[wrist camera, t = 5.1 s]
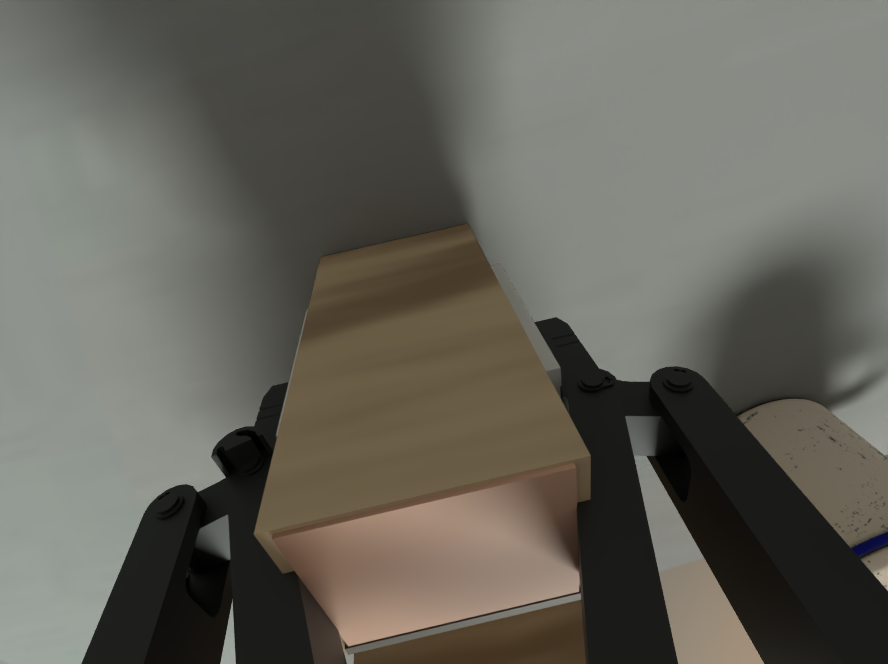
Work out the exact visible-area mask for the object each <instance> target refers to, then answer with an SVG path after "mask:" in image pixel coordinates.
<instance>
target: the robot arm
mask: <svg viewBox="0 0 888 664" xmlns="http://www.w3.org/2000/svg"><path fill="white" fill-rule="evenodd" d="M491 268H492V270H493V272H494V274H495V276H496V278H497V279H498V281H499V283H500V285H501V287H502V289H503V291H504V293H505V295H506V296H507V298H508V300H509V302H510V304H511V306H512V308H513V310H514V312H515V314H516V315H517V317H518V319H519V321H520V323H521V325H522V327H523V329H524V331H525V332H526V334H527V336H528V338H529V340H530V342H531V344H532V346H533V348H534V349H535V351H536V353H537V355H538V357H539V359H540V361H541V363H542V365H543V366H544V368H545V370H546V372H547V374H548V376H549V378H550V380H551V382H552V383H553V385H554V387H555V389H556V391H557V393H558V395H559V397H560V399H561V400H562V402H563V404H564V406H565V408H566V410H567V412H568V414H569V416H570V417H571V419H572V421H573V423H574V425H575V427H576V429H577V431H578V433H579V434H580V436H581V438H582V440H583V442H584V444H585V446H586V448H587V450H588V451H589V453H590V455H591V499H590V500H586V501H582V502H577V531H578V559H579V577H580V590H581V604H582V618H583V631H584V645H585V659H586V664H678V661H677V656H676V652H675V647H674V643H673V638H672V633H671V628H670V624H669V619H668V614H667V609H666V605H665V600H664V596H663V591H662V586H661V582H660V577H659V572H658V567H657V563H656V558H655V553H654V549H653V544H652V539H651V534H650V530H649V525H648V520H647V516H646V511H645V506H644V502H643V497H642V492H641V488H640V483H639V478H638V473H637V469H636V464H635V459H634V455H642V456H647V458H648V459H649V461H650V463H651V465H652V466H653V468H654V470H655V472H656V473H657V475H658V477H659V479H660V481H661V482H662V484H663V486H664V488H665V489H666V491H667V493H668V495H669V496H670V498H671V500H672V502H673V503H674V505H675V507H676V509H677V510H678V512H679V514H680V516H681V518H682V519H683V521H684V523H685V525H686V526H687V528H688V530H689V532H690V533H691V535H692V537H693V539H694V540H695V542H696V544H697V546H698V548H699V549H700V551H701V553H702V555H703V556H704V558H705V560H706V562H707V563H708V565H709V567H710V568H711V570H712V572H713V574H714V576H715V577H716V579H717V581H718V583H719V585H720V586H721V588H722V590H723V592H724V593H725V595H726V597H727V599H728V600H729V602H730V604H731V606H732V607H733V609H734V611H735V612H736V614H737V616H738V618H739V620H740V621H741V623H742V625H743V627H744V629H745V630H746V632H747V634H748V636H749V637H750V639H751V641H752V643H753V644H754V646H755V648H756V650H757V651H758V653H759V655H760V657H761V659H762V660H763V662H764V664H888V591H887V589H886V588H885V587H884V586H883V585H882V584H881V583H880V581H879V580H878V579H877V578H876V577H875V576H874V574H873V573H872V572H871V571H870V570H869V569H868V567H867V566H866V565H865V564H864V563H863V562H862V561H861V559H860V558H859V557H858V556H857V555H856V554H855V552H854V551H853V550H852V549H851V548H850V547H849V545H848V544H847V543H846V542H845V541H844V540H843V539H842V537H841V536H840V535H839V534H838V533H837V532H836V530H835V529H834V528H833V527H832V526H831V525H830V523H829V522H828V521H827V520H826V519H825V518H824V517H823V515H822V514H821V513H820V512H819V511H818V510H817V508H816V507H815V506H814V505H813V504H812V503H811V501H810V500H809V499H808V498H807V497H806V496H805V495H804V493H803V492H802V491H801V490H800V489H799V488H798V486H797V485H796V484H795V483H794V482H793V481H792V479H791V478H790V477H789V476H788V475H787V474H786V473H785V471H784V470H783V469H782V468H781V467H780V466H779V464H778V463H777V462H776V461H775V460H774V459H773V457H772V456H771V455H770V454H769V453H768V452H767V451H766V449H765V448H764V447H763V446H762V445H761V444H760V442H759V441H758V440H757V439H756V438H755V437H754V435H753V434H752V433H751V432H750V431H749V430H748V429H747V427H746V426H745V425H744V424H743V423H742V422H741V420H740V419H739V418H738V417H737V416H736V415H735V413H734V412H733V411H732V410H731V409H730V408H729V407H728V405H727V404H726V403H725V402H724V401H723V400H722V398H721V397H720V396H719V395H718V394H717V393H716V391H715V390H714V389H713V388H712V387H711V386H710V385H709V383H708V382H707V381H706V380H705V379H704V378H703V377H702V376H701V375H699V374H698V373H697V372H695V371H692V370H690V369H687V368H682V367H665V368H662V369H659V370H657V371H656V372H655V373H653V374H652V376H651V379H650V382H627V381H620V380H616V378H615V376H613V375H612V374H611V373H609V372H608V371H605V370H602V369H599V368H598V366H597V365H596V364H595V362H594V361H593V359H592V358H591V356H590V355H589V354H588V352H587V351H586V349H585V348H584V346H583V345H582V344H581V342H580V341H579V339H578V338H577V336H576V335H575V334H574V332H573V331H572V329H571V328H570V326H569V325H568V324H567V323H565V322H564V321H562V320H560V319H558V318H557V317H555V318H551V319H547V320H543V321H538V322H534V321H533V319H532V318H531V316H530V314H529V313H528V311H527V309H526V307H525V306H524V304H523V302H522V301H521V299H520V297H519V295H518V294H517V292H516V290H515V288H514V287H513V285H512V283H511V282H510V280H509V278H508V276H507V275H506V273H505V271H504V270H503V268H502V266H501V264H497V265H493V266H491ZM307 312H308V309H307V310H306V314H305V318H304V322H303V326H302V330H301V334H300V338H299V342H298V347H297V351H296V355H295V359H294V363H293V367H292V371H291V375H290V379H289V382H287V383H283V384H279V385H275V386H272V387H271V388H270V390H269V391H268V392H267V393H266V395H265V396H264V397H263V400H262V403H261V406H260V411H259V413H258V416H257V421H256V423H255V426H251V427H243V428H240V429H236V430H234V431H233V432H231V433H229V434H227V435H226V436H225V437H224V438H222V439H221V440H220V441H219V442H218V443H217V445H216V446H215V448H214V449H213V452H212V456H211V457H212V459H213V460H214V461H215V463H216V464H217V465H218V467H219V468H220V470H221V471H222V472H223V474H224V475H225V476H226V478H225V479H223V480H221V481H220V482H218V483H216V484H214V485H212V486H210V487H208V488H206V489H204V490H202V491H199V492H197V491H196V490H195V488H194V487H193V486H190V485H187V484H185V485H178V486H175V487H173V488H170V489H168V490H166V491H165V492H163V493H162V494H161V495H159V496H158V497H157V498H156V499H155V500H154V501H153V502H152V503H151V504H150V505H149V506H148V508H147V510H146V511H145V513H144V515H143V517H142V520H141V522H140V524H139V527H138V529H137V532H136V534H135V536H134V539H133V541H132V544H131V546H130V549H129V551H128V553H127V556H126V558H125V561H124V563H123V565H122V568H121V570H120V573H119V575H118V577H117V580H116V582H115V585H114V587H113V589H112V592H111V594H110V597H109V599H108V601H107V604H106V606H105V609H104V611H103V613H102V616H101V618H100V621H99V623H98V625H97V628H96V630H95V633H94V635H93V637H92V640H91V642H90V645H89V647H88V649H87V652H86V654H85V657H84V659H83V662H82V664H220V662H221V656H222V651H223V646H224V641H225V635H226V630H227V625H228V619H229V614H230V609H231V604H232V598H233V616H234V634H235V653H236V664H347V663H346V659H345V655H344V651H343V647H342V643H341V639H340V634H339V631H338V630H337V628H336V627H335V625H334V624H333V623H332V621H331V620H330V619H329V617H328V616H327V614H326V613H325V612H324V610H323V609H322V608H321V606H320V605H319V604H318V602H317V601H316V599H315V598H314V597H313V595H312V594H311V593H310V591H309V590H308V589H307V587H306V586H305V584H304V583H303V582H302V580H301V579H300V578H299V576H298V575H297V574H296V572H295V571H292V572H288V573H284V574H283V573H282V572H281V571H280V569H279V568H278V566H277V565H276V564H275V562H274V561H273V560H272V558H271V557H270V556H269V554H268V553H267V552H266V550H265V549H264V548H263V546H262V545H261V544H260V542H259V541H258V540H257V538H256V537H255V536H254V531H255V527H256V523H257V518H258V514H259V510H260V506H261V502H262V498H263V494H264V489H265V485H266V481H267V477H268V473H269V469H270V465H271V460H272V456H273V452H274V448H275V444H276V440H277V436H278V432H279V427H280V423H281V419H282V415H283V411H284V407H285V403H286V398H287V394H288V390H289V386H290V382H291V378H292V374H293V369H294V365H295V361H296V357H297V353H298V349H299V345H300V340H301V336H302V332H303V328H304V324H305V320H306V316H307Z"/></svg>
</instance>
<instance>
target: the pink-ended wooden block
mask: <svg viewBox="0 0 888 664" xmlns="http://www.w3.org/2000/svg"><path fill="white" fill-rule="evenodd" d="M590 499H591V455H590V453H589V451H588V450H587V448H586V446H585V444H584V442H583V440H582V438H581V436H580V434H579V433H578V431H577V429H576V427H575V425H574V423H573V421H572V419H571V417H570V416H569V414H568V412H567V410H566V408H565V406H564V404H563V402H562V400H561V399H560V397H559V395H558V393H557V391H556V389H555V387H554V385H553V383H552V382H551V380H550V378H549V376H548V374H547V372H546V370H545V368H544V366H543V365H542V363H541V361H540V359H539V357H538V355H537V353H536V351H535V349H534V348H533V346H532V344H531V342H530V340H529V338H528V336H527V334H526V332H525V331H524V329H523V327H522V325H521V323H520V321H519V319H518V317H517V315H516V314H515V312H514V310H513V308H512V306H511V304H510V302H509V300H508V298H507V296H506V295H505V293H504V291H503V289H502V287H501V285H500V283H499V281H498V279H497V278H496V276H495V274H494V272H493V270H492V268H491V266H490V264H489V262H488V261H487V259H486V257H485V255H484V253H483V251H482V249H481V247H480V245H479V244H478V242H477V240H476V238H475V236H474V234H473V232H472V230H471V228H470V227H469V225H468V224H464V225H460V226H455V227H451V228H447V229H442V230H438V231H433V232H429V233H425V234H420V235H416V236H411V237H407V238H403V239H398V240H394V241H389V242H385V243H381V244H376V245H372V246H367V247H363V248H359V249H354V250H350V251H345V252H341V253H337V254H332V255H328V256H323V257H321V258H320V262H319V266H318V270H317V274H316V278H315V283H314V287H313V291H312V295H311V299H310V303H309V307H308V312H307V316H306V320H305V324H304V328H303V332H302V336H301V340H300V345H299V349H298V353H297V357H296V361H295V365H294V369H293V374H292V378H291V382H290V386H289V390H288V394H287V398H286V403H285V407H284V411H283V415H282V419H281V423H280V427H279V432H278V436H277V440H276V444H275V448H274V452H273V456H272V460H271V465H270V469H269V473H268V477H267V481H266V485H265V489H264V494H263V498H262V502H261V506H260V510H259V514H258V518H257V523H256V527H255V531H254V536H255V537H256V538H257V540H258V541H259V542H260V544H261V545H262V546H263V548H264V549H265V550H266V552H267V553H268V554H269V556H270V557H271V558H272V560H273V561H274V562H275V564H276V565H277V566H278V568H279V569H280V571H281V572H282V573H283V574H284V573H288V572H292V571H295V572H296V574H297V575H298V576H299V578H300V579H301V580H302V582H303V583H304V584H305V586H306V587H307V589H308V590H309V591H310V593H311V594H312V595H313V597H314V598H315V599H316V601H317V602H318V604H319V605H320V606H321V608H322V609H323V610H324V612H325V613H326V614H327V616H328V617H329V619H330V620H331V621H332V623H333V624H334V625H335V627H336V628H337V630H338V631H339V634H340V639H341V643H342V647H343V651H344V653H348V655H349V654H354V653H358V652H362V651H366V650H371V649H375V648H379V647H383V646H387V645H392V644H396V643H400V642H404V641H408V640H413V639H417V638H421V637H425V636H429V635H434V634H438V633H442V632H446V631H450V630H455V629H459V628H463V627H467V626H472V625H476V624H480V623H484V622H488V621H493V620H497V619H501V618H505V617H509V616H514V615H518V614H522V613H526V612H530V611H535V610H539V609H543V608H547V607H552V606H556V605H560V604H564V603H568V602H573V601H577V600H581V590H580V577H579V559H578V531H577V502H582V501H586V500H590Z"/></svg>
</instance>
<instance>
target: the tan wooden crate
mask: <svg viewBox="0 0 888 664" xmlns="http://www.w3.org/2000/svg"><path fill="white" fill-rule="evenodd" d="M354 664H586V659H585V645H584V631H583V618H582V604H581V600H577V601H573V602H568V603H564V604H560V605H556V606H552V607H547V608H543V609H539V610H535V611H530V612H526V613H522V614H518V615H514V616H509V617H505V618H501V619H497V620H493V621H488V622H484V623H480V624H476V625H472V626H467V627H463V628H459V629H455V630H450V631H446V632H442V633H438V634H434V635H429V636H425V637H421V638H417V639H413V640H408V641H404V642H400V643H396V644H392V645H387V646H383V647H379V648H375V649H371V650H366V651H362V652H358V653H354Z"/></svg>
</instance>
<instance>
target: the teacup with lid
mask: <svg viewBox="0 0 888 664" xmlns="http://www.w3.org/2000/svg"><path fill="white" fill-rule="evenodd" d="M737 417H738V418H739V419H740V420H741V422H742V423H743V424H744V425H745V426H746V427H747V429H748V430H749V431H750V432H751V433H752V434H753V435H754V437H755V438H756V439H757V440H758V441H759V442H760V444H761V445H762V446H763V447H764V448H765V449H766V451H767V452H768V453H769V454H770V455H771V456H772V457H773V459H774V460H775V461H776V462H777V463H778V464H779V466H780V467H781V468H782V469H783V470H784V471H785V473H786V474H787V475H788V476H789V477H790V478H791V479H792V481H793V482H794V483H795V484H796V485H797V486H798V488H799V489H800V490H801V491H802V492H803V493H804V495H805V496H806V497H807V498H808V499H809V500H810V501H811V503H812V504H813V505H814V506H815V507H816V508H817V510H818V511H819V512H820V513H821V514H822V515H823V517H824V518H825V519H826V520H827V521H828V522H829V523H830V525H831V526H832V527H833V528H834V529H835V530H836V532H837V533H838V534H839V535H840V536H841V537H842V539H843V540H844V541H845V542H846V543H847V544H848V545H849V547H850V548H851V549H852V550H853V551H854V552H855V554H856V555H857V556H858V557H859V558H860V559H861V561H862V562H863V563H864V564H865V565H866V566H867V567H868V569H869V570H870V571H871V572H872V573H873V574H874V576H875V577H876V578H877V579H878V580H879V581H880V583H881V584H882V585H883V586H884V587H885V588H886V589H887V591H888V455H883V454H882V453H881V452H880V451H878V450H877V449H876V448H875V447H873V446H872V445H871V444H870V443H868V442H867V441H866V440H865V439H863V438H862V437H861V436H860V435H858V434H857V433H856V432H855V431H854V430H852V429H851V428H850V427H849V426H847V425H846V424H845V423H844V422H842V421H841V420H840V419H839V418H837V417H836V416H835V415H834V414H832V413H831V412H830V411H829V410H827V409H826V408H825V407H823V406H822V405H820V404H818V403H816V402H813V401H810V400H805V399H784V400H778V401H773V402H769V403H766V404H763V405H760V406H757V407H755V408H753V409H750V410H748V411H746V412H744V413H742V414H740V415H739V416H737Z"/></svg>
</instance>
